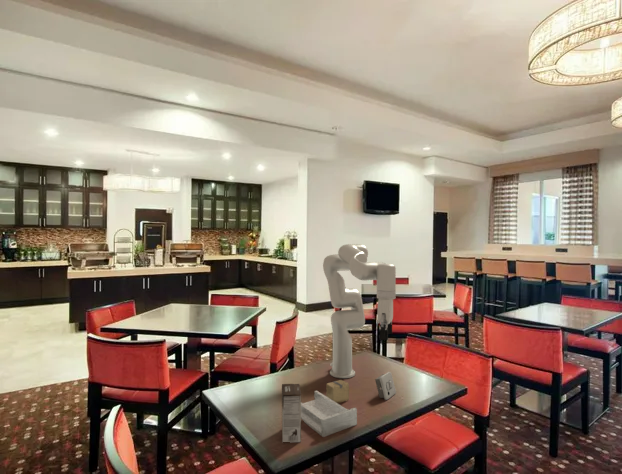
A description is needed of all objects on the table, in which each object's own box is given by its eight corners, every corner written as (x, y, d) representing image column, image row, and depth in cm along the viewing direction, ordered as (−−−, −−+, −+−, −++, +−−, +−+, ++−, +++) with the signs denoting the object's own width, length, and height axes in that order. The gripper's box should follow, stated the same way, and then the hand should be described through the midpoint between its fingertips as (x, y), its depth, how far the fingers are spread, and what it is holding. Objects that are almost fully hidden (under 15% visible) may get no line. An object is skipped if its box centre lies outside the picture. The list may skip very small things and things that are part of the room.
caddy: (288, 409, 144) (288, 395, 144) (319, 400, 152) (319, 386, 152) (323, 437, 124) (323, 420, 124) (356, 424, 132) (356, 408, 132)
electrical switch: (386, 401, 151) (384, 378, 152) (375, 398, 154) (373, 376, 155) (396, 393, 158) (394, 371, 159) (385, 391, 162) (384, 370, 162)
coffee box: (281, 429, 129) (281, 383, 129) (299, 428, 130) (299, 382, 130) (281, 443, 120) (281, 394, 120) (301, 442, 120) (301, 393, 121)
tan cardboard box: (326, 400, 152) (326, 383, 152) (341, 395, 156) (341, 379, 156) (333, 405, 148) (333, 387, 148) (348, 400, 152) (348, 383, 152)
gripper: (381, 290, 156) (381, 330, 156) (372, 297, 140) (372, 341, 140) (398, 291, 153) (398, 332, 153) (391, 298, 137) (391, 343, 137)
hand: (386, 336), depth 147 cm, fingers open, 9 cm apart
